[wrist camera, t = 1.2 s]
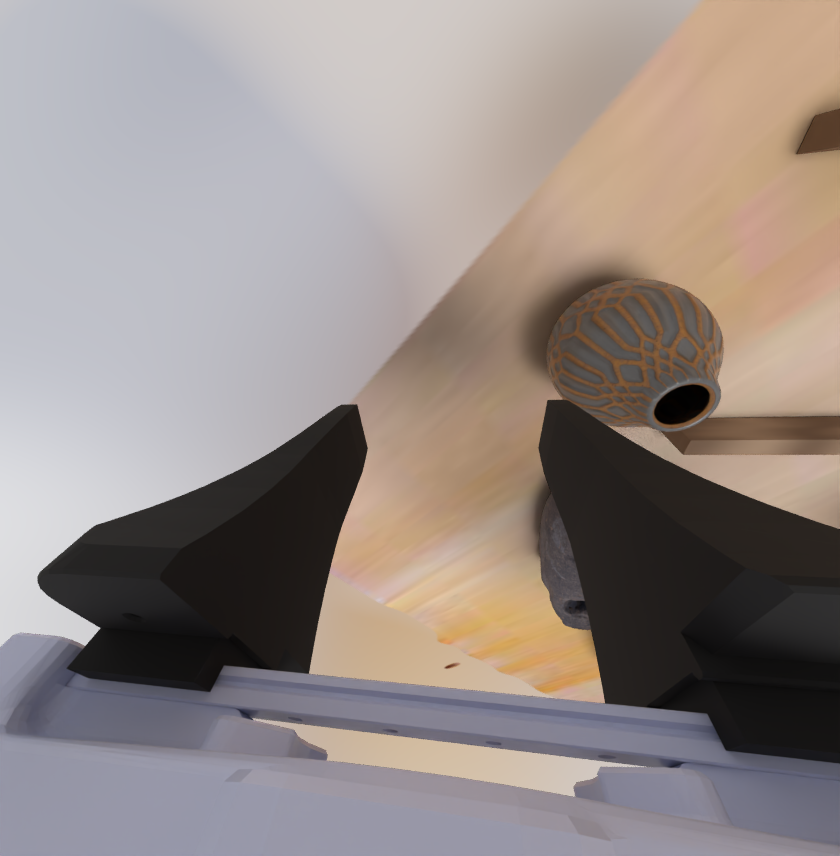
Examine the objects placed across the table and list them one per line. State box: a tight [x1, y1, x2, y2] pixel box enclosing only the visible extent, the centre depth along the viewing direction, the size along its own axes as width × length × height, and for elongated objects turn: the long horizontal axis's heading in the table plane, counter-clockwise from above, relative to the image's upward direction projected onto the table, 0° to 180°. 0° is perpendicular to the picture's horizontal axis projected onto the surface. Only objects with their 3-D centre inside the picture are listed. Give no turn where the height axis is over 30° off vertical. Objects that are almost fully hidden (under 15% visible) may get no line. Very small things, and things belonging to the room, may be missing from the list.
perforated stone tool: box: [539, 493, 591, 630], centre depth 26 cm, size 15×5×7 cm, turn 14°
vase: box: [547, 279, 724, 432], centre depth 15 cm, size 7×7×9 cm
